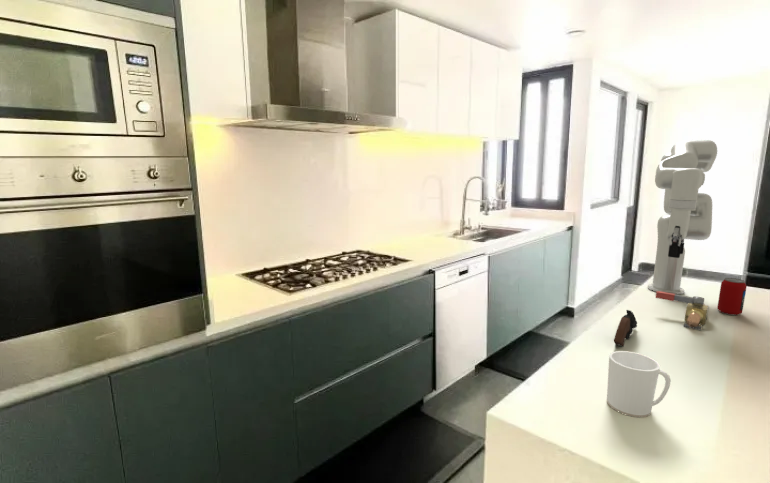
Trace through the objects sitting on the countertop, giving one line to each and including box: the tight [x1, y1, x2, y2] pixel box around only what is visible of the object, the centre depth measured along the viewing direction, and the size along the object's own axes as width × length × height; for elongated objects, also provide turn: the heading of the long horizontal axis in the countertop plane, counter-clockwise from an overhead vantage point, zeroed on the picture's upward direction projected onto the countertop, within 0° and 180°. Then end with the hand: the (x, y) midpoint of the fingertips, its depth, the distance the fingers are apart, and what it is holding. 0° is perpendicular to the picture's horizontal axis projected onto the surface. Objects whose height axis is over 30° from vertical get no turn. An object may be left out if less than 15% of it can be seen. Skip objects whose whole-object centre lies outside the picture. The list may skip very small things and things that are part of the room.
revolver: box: [613, 309, 638, 347], centre depth 120 cm, size 3×18×12 cm
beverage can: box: [716, 277, 747, 316], centre depth 141 cm, size 7×7×12 cm
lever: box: [655, 291, 705, 307], centre depth 137 cm, size 13×3×3 cm, turn 48°
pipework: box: [683, 303, 709, 331], centre depth 134 cm, size 22×5×5 cm, turn 138°
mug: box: [606, 350, 672, 418], centre depth 84 cm, size 11×9×10 cm
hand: (675, 255), depth 141 cm, fingers open, 8 cm apart
